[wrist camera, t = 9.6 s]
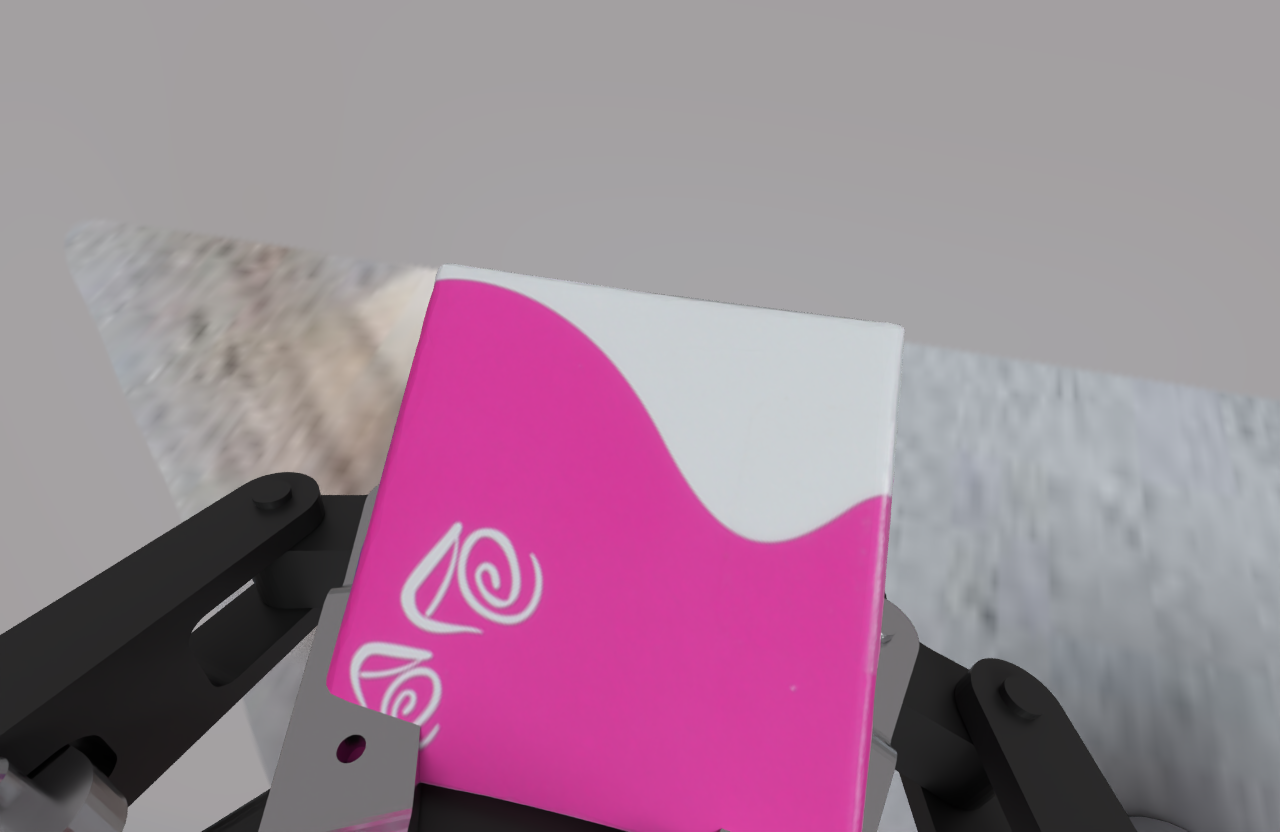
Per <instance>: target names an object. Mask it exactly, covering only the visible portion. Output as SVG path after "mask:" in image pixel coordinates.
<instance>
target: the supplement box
mask: <svg viewBox="0 0 1280 832" xmlns="http://www.w3.org/2000/svg"><path fill="white" fill-rule="evenodd" d="M903 349H904V328H903V327H902V326H901V325H900V324H894V323H886V322H875V321H867V320H860V319H853V318H846V317H838V316H829V315H821V314H813V313H805V312H797V311H789V310H780V309H773V308H765V307H757V306H749V305H742V304H734V303H726V302H719V301H711V300H703V299H696V298H688V297H680V296H672V295H664V294H656V293H647V292H639V291H634V290H628V289H621V288H614V287H607V286H600V285H594V284H587V283H580V282H573V281H566V280H559V279H553V278H547V277H540V276H533V275H525V274H519V273H512V272H505V271H499V270H493V269H482V268H475V267H470V266H464V265H458V264H450V263H446V264H442V265H441V267H440V268H439V269H438V272H437V274H436V278H435V284H434V289H433V292H432V295H431V298H430V301H429V304H428V308H427V311H426V315H425V318H424V322H423V326H422V331H421V335H420V339H419V342H418V345H417V349H416V352H415V356H414V360H413V363H412V367H411V371H410V374H409V378H408V382H407V385H406V389H405V393H404V396H403V400H402V404H401V407H400V411H399V415H398V418H397V422H396V426H395V429H394V433H393V437H392V440H391V444H390V448H389V451H388V455H387V459H386V462H385V466H384V470H383V473H382V477H381V481H380V485H379V488H378V492H377V496H376V500H375V504H374V507H373V511H372V515H371V519H370V523H369V527H368V530H367V534H366V537H365V540H364V543H363V546H362V549H361V552H360V556H359V560H358V565H357V568H356V572H355V576H354V580H353V584H352V587H351V591H350V595H349V598H348V602H347V605H346V609H345V612H344V616H343V619H342V623H341V626H340V630H339V633H338V637H337V641H336V645H335V648H334V652H333V656H332V659H331V663H330V667H329V670H328V674H327V678H326V685H327V687H328V689H329V691H330V693H331V694H333V695H335V696H337V697H339V698H341V699H344V700H346V701H348V702H351V703H354V704H357V705H360V706H363V707H366V708H369V709H372V710H375V711H378V712H381V713H384V714H387V715H390V716H393V717H396V718H399V719H402V720H405V721H408V722H410V723H413V724H416V725H419V726H420V782H421V783H426V784H430V785H435V786H440V787H444V788H449V789H454V790H459V791H464V792H469V793H474V794H479V795H484V796H489V797H493V798H498V799H502V800H506V801H510V802H514V803H519V804H523V805H527V806H531V807H535V808H539V809H543V810H547V811H551V812H556V813H559V814H563V815H567V816H571V817H575V818H579V819H583V820H587V821H590V822H594V823H598V824H602V825H605V826H609V827H613V828H617V829H620V830H624V831H628V832H720V830H721V829H725V830H728V831H731V832H862V828H863V818H864V808H865V797H866V787H867V776H868V767H869V758H870V749H871V740H872V729H873V710H874V696H875V686H876V676H877V668H878V661H879V654H880V644H881V627H882V616H883V606H884V594H885V579H886V564H887V553H888V541H889V530H890V518H891V504H892V489H893V482H894V467H895V450H896V440H897V425H898V406H899V399H900V391H901V377H902V362H903ZM364 750H365V747H358V748H356V749H355V750H354V751H353V752H352V753H351V755H350V756H349V758H348V760H347V763H351V762H353V761H355V760H357V759H358V758H359V757H360V756H361V755H362V754H363V752H364Z"/></svg>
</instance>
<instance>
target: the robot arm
mask: <svg viewBox="0 0 1280 832" xmlns="http://www.w3.org/2000/svg"><path fill="white" fill-rule="evenodd" d="M379 485H380V484H379ZM379 485H378V486H376V487H375V488H374V489H373V490H372V491H371V492H370V493H369V495H321V494H320V490H319V486H318V484H317V482H316V481H315V480H314V479H313V478H311V477H309V476H307V475H304V474H301V473H294V472H282V473H275V474H270V475H265V476H262V477H259V478H257V479H254V480H252V481H250V482H248V483H246V484H244V485H243V486H241V487H239V488H238V489H236V490H234V491H233V492H231V493H230V494H228V495H226V496H225V497H223V498H222V499H220V500H218V501H217V502H215V503H213V504H212V505H210V506H209V507H207V508H205V509H204V510H202V511H200V512H199V513H197V514H196V515H194V516H192V517H191V518H189V519H188V520H186V521H184V522H183V523H181V524H180V525H178V526H176V527H175V528H173V529H171V530H170V531H168V532H166V533H165V534H163V535H162V536H160V537H158V538H157V539H155V540H154V541H152V542H150V543H149V544H147V545H145V546H144V547H142V548H141V549H139V550H137V551H136V552H134V553H133V554H131V555H129V556H128V557H126V558H124V559H123V560H121V561H120V562H118V563H116V564H115V565H113V566H112V567H110V568H108V569H107V570H105V571H103V572H102V573H100V574H99V575H97V576H95V577H94V578H92V579H90V580H89V581H87V582H86V583H84V584H82V585H81V586H79V587H77V588H76V589H74V590H73V591H71V592H69V593H68V594H66V595H65V596H63V597H62V598H60V599H58V600H56V601H55V602H53V603H52V604H50V605H48V606H47V607H45V608H43V609H42V610H40V611H39V612H37V613H35V614H34V615H32V616H31V617H29V618H27V619H26V620H24V621H22V622H21V623H19V624H18V625H16V626H14V627H13V628H11V629H10V630H8V631H6V632H5V633H3V634H1V635H0V832H122V831H123V828H124V826H125V823H126V818H127V812H128V811H127V810H128V807H129V806H130V805H131V804H132V803H133V802H134V801H135V800H136V799H137V798H138V797H139V796H140V795H141V794H142V793H143V792H144V791H145V790H146V789H148V788H149V787H150V786H151V785H152V784H153V783H154V781H156V780H157V779H158V778H159V777H160V776H161V775H162V774H163V773H164V772H165V771H166V770H167V769H168V768H169V767H170V766H171V765H173V763H175V762H176V761H177V760H178V759H179V758H180V757H181V756H182V755H183V754H184V753H185V752H186V751H187V750H188V749H189V748H190V747H191V746H192V745H193V744H194V743H195V742H196V741H197V740H199V739H200V738H201V737H202V736H203V735H204V734H205V733H206V732H207V731H208V730H209V729H210V728H211V727H212V726H213V725H214V724H215V723H216V722H217V721H218V720H219V719H220V718H221V717H222V716H223V715H224V714H226V713H227V712H228V711H229V710H230V709H231V708H232V707H233V706H234V705H235V704H236V703H237V702H238V701H239V700H240V699H241V698H242V697H243V696H244V695H245V694H246V693H247V692H248V691H249V690H250V689H252V688H253V687H254V686H255V685H256V684H257V683H258V682H259V681H260V680H261V679H262V678H263V677H264V676H265V675H266V674H267V673H268V672H269V671H270V670H271V669H272V668H273V667H274V666H275V665H276V664H278V663H279V662H280V661H281V660H282V659H283V658H284V657H285V656H286V655H287V654H288V653H289V652H290V651H291V650H292V649H293V648H294V647H295V646H296V645H297V644H298V643H299V642H300V641H301V640H302V639H304V638H305V637H306V636H307V635H308V634H309V633H310V632H311V631H312V630H313V629H314V628H315V627H316V626H317V625H318V626H317V629H316V633H315V636H314V640H313V643H312V647H311V650H310V654H309V657H308V661H307V664H306V668H305V671H304V675H303V678H302V682H301V685H300V688H299V692H298V695H297V699H296V702H295V706H294V709H293V713H292V716H291V720H290V723H289V727H288V730H287V734H286V737H285V741H284V744H283V747H282V751H281V754H280V758H279V761H278V765H277V768H276V772H275V775H274V779H273V782H272V786H271V789H269V790H268V791H266V792H264V793H263V794H261V795H259V796H258V797H256V798H255V799H253V800H251V801H250V802H248V803H247V804H245V805H243V806H242V807H240V808H239V809H237V810H235V811H234V812H232V813H230V814H229V815H227V816H226V817H224V818H222V819H221V820H219V821H218V822H216V823H215V824H213V825H212V826H210V827H208V828H207V829H205V830H203V831H202V832H628V831H624V830H620V829H617V828H613V827H609V826H605V825H602V824H598V823H594V822H590V821H587V820H583V819H579V818H575V817H571V816H567V815H563V814H559V813H556V812H551V811H547V810H543V809H539V808H535V807H531V806H527V805H523V804H519V803H514V802H510V801H506V800H502V799H498V798H493V797H489V796H484V795H479V794H474V793H469V792H464V791H459V790H454V789H449V788H444V787H440V786H435V785H430V784H426V783H421V782H420V726H419V725H416V724H413V723H410V722H408V721H405V720H402V719H399V718H396V717H393V716H390V715H387V714H384V713H381V712H378V711H375V710H372V709H369V708H366V707H363V706H360V705H357V704H354V703H351V702H348V701H346V700H344V699H341V698H339V697H337V696H335V695H333V694H331V693H330V691H329V689H328V687H327V685H326V678H327V674H328V670H329V667H330V663H331V659H332V656H333V652H334V648H335V645H336V641H337V637H338V633H339V630H340V626H341V623H342V619H343V616H344V612H345V609H346V605H347V602H348V598H349V595H350V591H351V587H352V584H353V580H354V576H355V572H356V568H357V565H358V560H359V556H360V552H361V549H362V546H363V543H364V540H365V537H366V534H367V530H368V527H369V523H370V519H371V515H372V511H373V507H374V504H375V500H376V496H377V492H378V488H379ZM251 579H253V582H254V584H253V585H251V586H250V587H249V588H248V589H246V590H245V591H244V592H243V593H241V594H240V595H239V596H238V597H236V598H235V599H234V600H233V601H231V602H230V603H229V604H228V605H226V606H225V607H224V608H222V609H221V610H220V611H219V612H217V613H216V614H215V615H214V616H212V617H211V618H210V619H209V620H207V621H206V622H205V623H204V624H203V625H201V626H200V627H198V628H197V629H196V630H195V631H194V632H192V630H193V629H194V627H195V626H196V624H197V623H198V622H199V621H200V620H201V619H202V618H203V617H204V616H205V615H206V614H207V613H209V612H210V611H211V610H213V609H214V608H215V607H216V606H218V605H219V604H220V603H221V602H223V601H224V600H225V599H227V598H228V597H229V596H230V595H232V594H233V593H234V592H236V591H237V590H238V589H239V588H241V587H242V586H243V585H245V584H246V583H247V582H248V581H250V580H251ZM191 632H192V633H191ZM358 747H365V750H364V752H363V754H362V755H361V756H360V757H359V758H358V759H357V760H355V761H353V762H351V763H347V760H348V758H349V756H350V755H351V753H352V752H353V751H354V750H355V749H356V748H358ZM894 770H897V771H898V772H899V774H900V777H901V780H902V783H903V786H904V789H905V793H906V796H907V799H908V802H909V805H910V808H911V812H912V815H913V818H914V821H915V824H916V827H917V830H918V832H1189V831H1186V830H1184V829H1182V828H1180V827H1177V826H1175V825H1173V824H1171V823H1168V822H1165V821H1161V820H1156V819H1152V818H1147V817H1128V815H1127V814H1126V812H1125V811H1124V809H1123V807H1122V806H1121V804H1120V802H1119V801H1118V799H1117V797H1116V796H1115V794H1114V792H1113V791H1112V789H1111V787H1110V786H1109V784H1108V782H1107V781H1106V779H1105V777H1104V776H1103V774H1102V773H1101V771H1100V769H1099V768H1098V766H1097V764H1096V763H1095V761H1094V759H1093V758H1092V756H1091V754H1090V753H1089V751H1088V749H1087V748H1086V746H1085V744H1084V743H1083V741H1082V740H1081V738H1080V736H1079V735H1078V733H1077V731H1076V730H1075V728H1074V726H1073V725H1072V723H1071V721H1070V720H1069V718H1068V716H1067V715H1066V713H1065V711H1064V710H1063V708H1062V707H1061V705H1060V704H1059V702H1058V701H1057V699H1056V698H1055V697H1054V696H1053V694H1052V693H1051V692H1050V691H1049V690H1048V689H1047V688H1046V687H1045V686H1044V685H1043V684H1042V683H1041V682H1040V681H1039V680H1037V679H1036V678H1035V677H1034V676H1032V675H1031V674H1030V673H1028V672H1027V671H1025V670H1023V669H1022V668H1020V667H1018V666H1016V665H1014V664H1012V663H1009V662H1007V661H1004V660H1000V659H993V658H987V659H982V660H980V661H978V662H977V663H976V664H974V666H973V667H972V668H971V669H970V670H968V669H967V668H965V667H963V666H961V665H959V664H957V663H955V662H954V661H952V660H950V659H948V658H946V657H944V656H942V655H941V654H939V653H937V652H935V651H933V650H931V649H930V648H928V647H926V646H925V645H923V644H922V643H920V642H919V638H918V634H917V632H916V630H915V627H914V626H913V624H912V623H911V621H910V620H909V618H908V617H907V616H906V615H905V614H904V613H903V612H902V611H901V610H900V609H899V608H898V607H897V606H895V605H894V604H893V603H891V602H890V601H888V600H887V598H886V594H884V606H883V616H882V627H881V644H880V654H879V661H878V668H877V676H876V686H875V696H874V710H873V729H872V740H871V749H870V758H869V767H868V776H867V787H866V797H865V808H864V818H863V828H862V832H877V829H878V825H879V822H880V818H881V815H882V811H883V808H884V805H885V801H886V798H887V794H888V791H889V787H890V784H891V780H892V777H893V773H894ZM720 832H731V831H728V830H725V829H721V830H720Z"/></svg>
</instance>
